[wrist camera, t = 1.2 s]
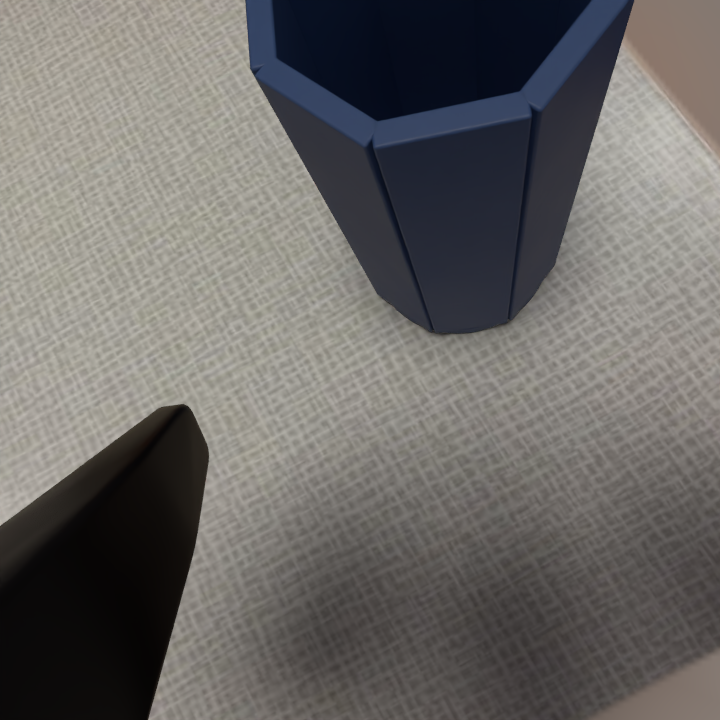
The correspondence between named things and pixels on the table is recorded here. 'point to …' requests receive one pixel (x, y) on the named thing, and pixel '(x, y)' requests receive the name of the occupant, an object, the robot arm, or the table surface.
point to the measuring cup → (442, 135)
